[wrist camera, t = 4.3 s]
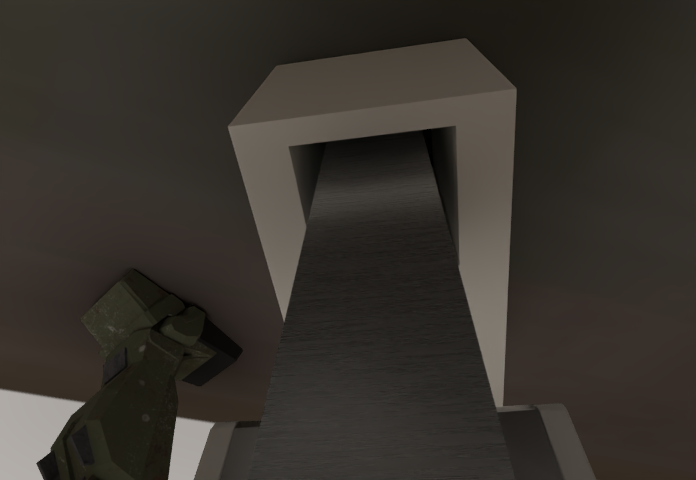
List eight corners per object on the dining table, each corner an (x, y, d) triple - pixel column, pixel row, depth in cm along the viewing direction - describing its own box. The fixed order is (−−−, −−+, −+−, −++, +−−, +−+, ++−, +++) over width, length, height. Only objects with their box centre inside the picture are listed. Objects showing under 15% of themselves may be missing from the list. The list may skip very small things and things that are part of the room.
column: (334, 104, 24) (210, 624, 6) (412, 94, 24) (556, 623, 5) (347, 183, 27) (288, 732, 8) (418, 175, 26) (531, 738, 8)
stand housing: (276, 65, 25) (223, 132, 16) (465, 37, 24) (521, 93, 15) (335, 337, 36) (323, 469, 27) (469, 327, 34) (503, 461, 25)
